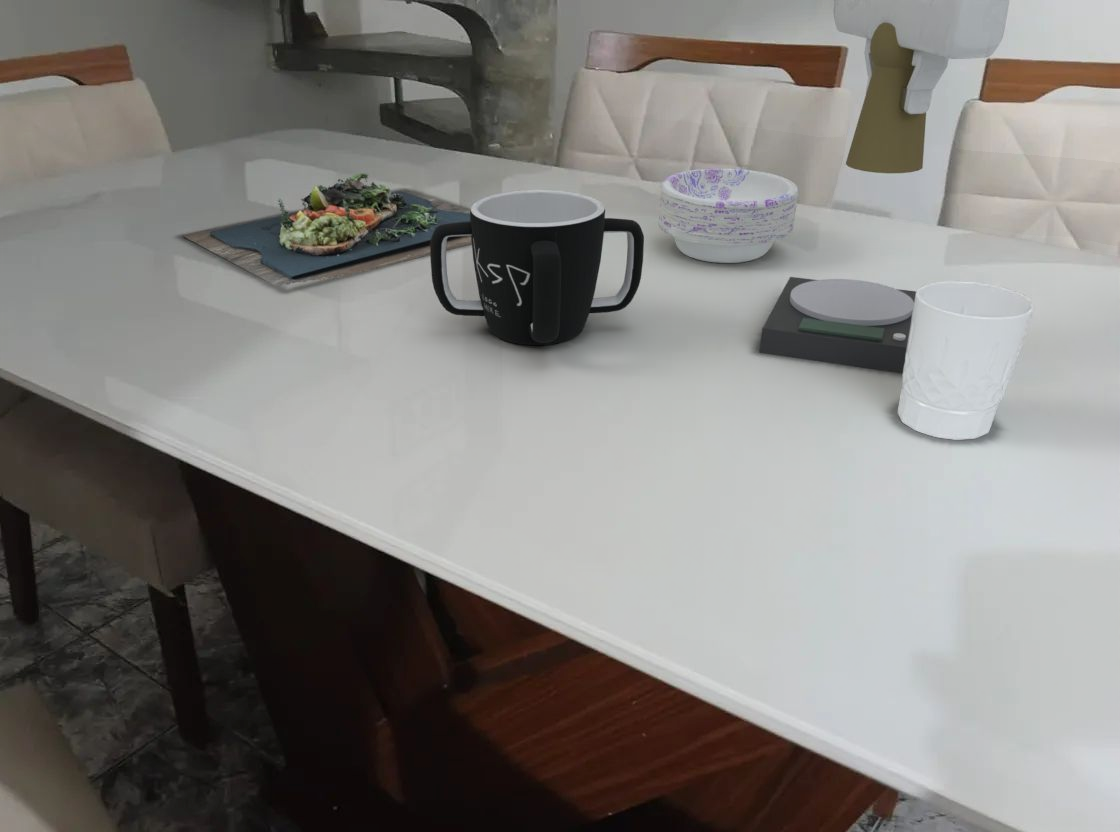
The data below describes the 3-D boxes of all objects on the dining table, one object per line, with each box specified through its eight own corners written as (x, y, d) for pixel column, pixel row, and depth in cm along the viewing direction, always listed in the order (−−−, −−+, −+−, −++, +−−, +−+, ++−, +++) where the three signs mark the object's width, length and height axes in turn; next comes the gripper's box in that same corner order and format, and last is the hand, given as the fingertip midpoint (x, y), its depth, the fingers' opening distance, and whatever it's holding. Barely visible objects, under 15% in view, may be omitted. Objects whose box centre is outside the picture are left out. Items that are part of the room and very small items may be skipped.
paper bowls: (733, 282, 104) (742, 208, 100) (629, 250, 114) (633, 182, 110) (816, 252, 112) (827, 183, 108) (711, 225, 122) (718, 161, 118)
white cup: (871, 421, 76) (897, 299, 70) (916, 390, 80) (943, 273, 75) (974, 455, 71) (1009, 327, 66) (1015, 419, 75) (1051, 297, 70)
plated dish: (289, 293, 104) (281, 225, 100) (178, 240, 123) (167, 181, 119) (531, 231, 123) (531, 172, 119) (402, 194, 142) (399, 142, 138)
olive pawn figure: (848, 172, 78) (873, 23, 73) (842, 155, 83) (864, 15, 78) (928, 174, 77) (959, 22, 71) (917, 157, 82) (945, 14, 76)
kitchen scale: (786, 299, 99) (790, 270, 98) (922, 315, 94) (929, 286, 93) (758, 353, 87) (763, 321, 86) (912, 375, 83) (920, 342, 81)
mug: (419, 328, 94) (412, 204, 88) (539, 290, 103) (540, 175, 97) (532, 380, 83) (533, 243, 77) (655, 332, 92) (665, 206, 86)
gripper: (1059, -96, 62) (1005, 128, 69) (905, -94, 80) (875, 85, 87) (965, -93, 62) (921, 133, 69) (831, -92, 79) (807, 88, 86)
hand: (894, 106), depth 78 cm, fingers closed on olive pawn figure, 4 cm apart
